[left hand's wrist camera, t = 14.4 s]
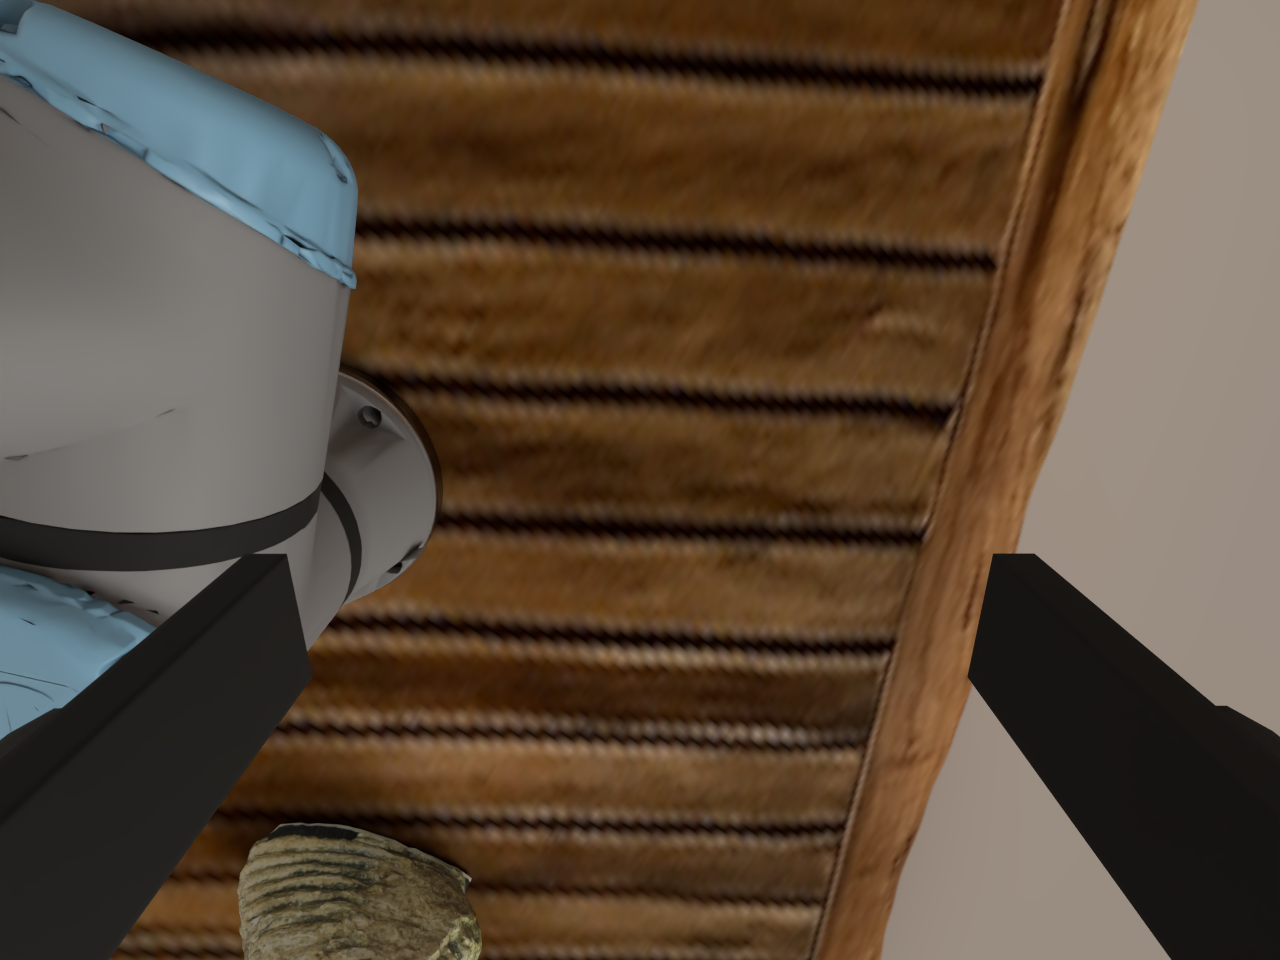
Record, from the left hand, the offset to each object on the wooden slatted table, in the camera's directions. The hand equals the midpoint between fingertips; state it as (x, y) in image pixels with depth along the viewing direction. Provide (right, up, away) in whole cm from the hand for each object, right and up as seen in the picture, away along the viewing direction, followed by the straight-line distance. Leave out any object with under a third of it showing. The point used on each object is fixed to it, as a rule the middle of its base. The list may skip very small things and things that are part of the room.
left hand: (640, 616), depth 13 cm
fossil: (-21, -28, +42) cm, 55 cm away
